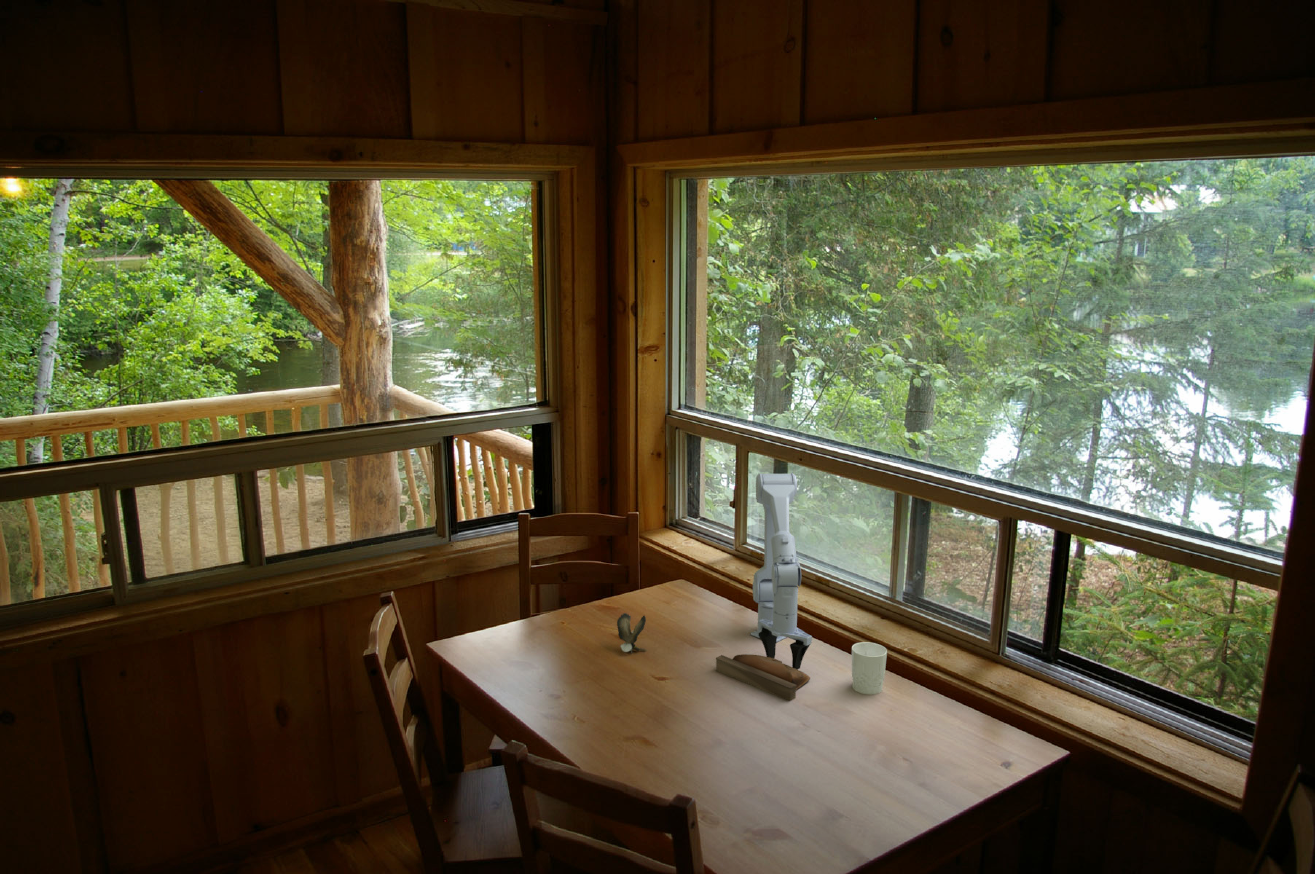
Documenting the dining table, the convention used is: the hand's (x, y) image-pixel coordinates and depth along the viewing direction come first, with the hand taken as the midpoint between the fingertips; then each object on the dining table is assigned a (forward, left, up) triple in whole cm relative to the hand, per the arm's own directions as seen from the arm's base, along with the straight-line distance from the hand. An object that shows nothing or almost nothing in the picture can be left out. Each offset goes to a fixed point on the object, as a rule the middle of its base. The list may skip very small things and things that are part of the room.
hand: (783, 663), depth 215 cm
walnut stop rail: (+11, 0, -1) cm, 11 cm away
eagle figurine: (+18, -34, -2) cm, 39 cm away
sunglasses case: (+3, 0, -2) cm, 4 cm away
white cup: (-5, +20, -2) cm, 21 cm away
